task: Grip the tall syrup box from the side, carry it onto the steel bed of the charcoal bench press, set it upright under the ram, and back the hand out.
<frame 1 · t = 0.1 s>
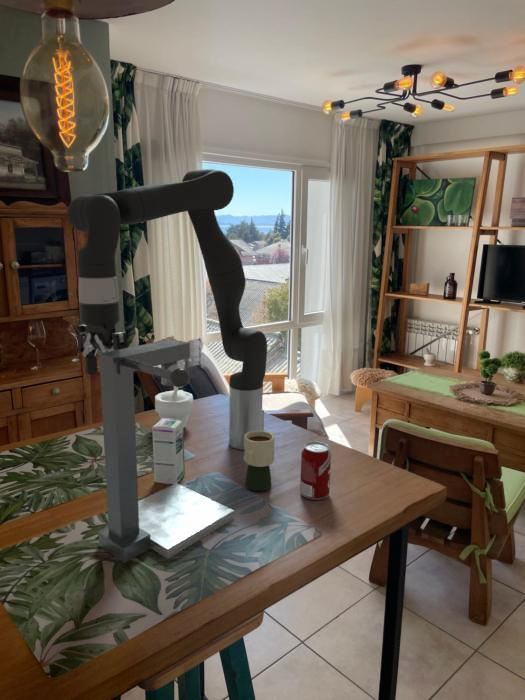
hand: (103, 377, 107), 29 cm above the table, tool pointing down, fingers open, 8 cm apart
mortar and pestle: (173, 427, 159), on the table
syrup box: (169, 479, 126), on the table
bench press: (172, 521, 108), on the table
soda can: (314, 495, 120), on the table
character mug: (258, 488, 123), on the table
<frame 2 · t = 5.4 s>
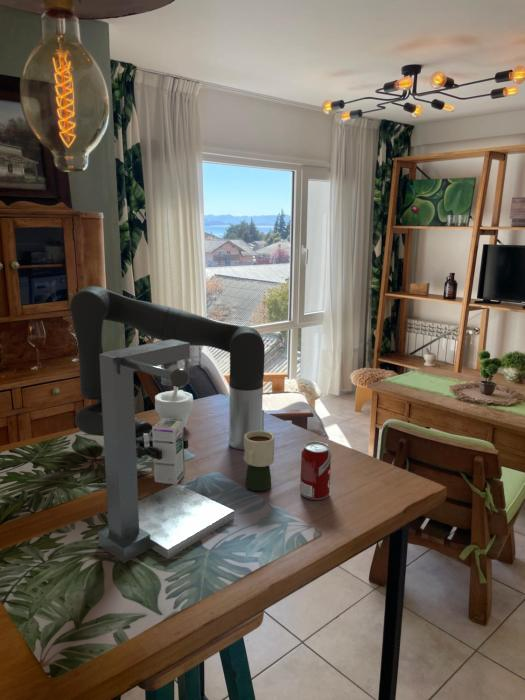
hand: (174, 450, 123), 8 cm above the table, tool horizontal, fingers closed on syrup box, 7 cm apart
syrup box: (169, 479, 126), on the table, touching gripper
everything else where it was.
when the fingers open (11 cm above the table, at t = 11.0 s): syrup box drops 1 cm, resting on bench press.
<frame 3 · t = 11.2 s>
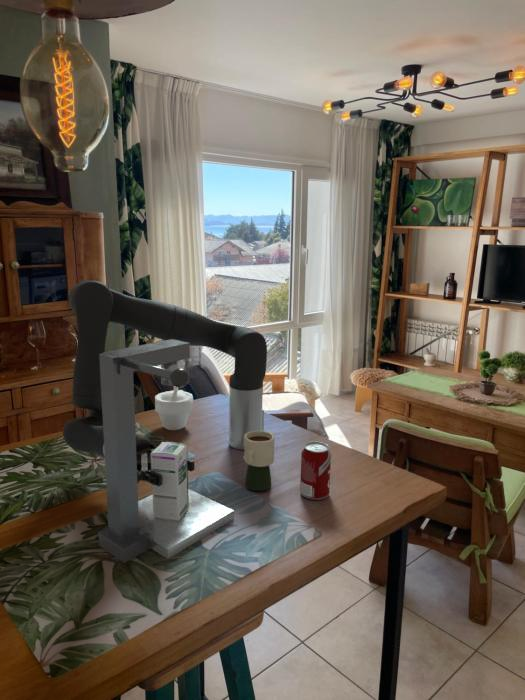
hand: (177, 473, 104), 11 cm above the table, tool horizontal, fingers open, 8 cm apart
syrup box: (171, 513, 108), point 2 cm above the table, touching bench press, gripper
everything else where it was.
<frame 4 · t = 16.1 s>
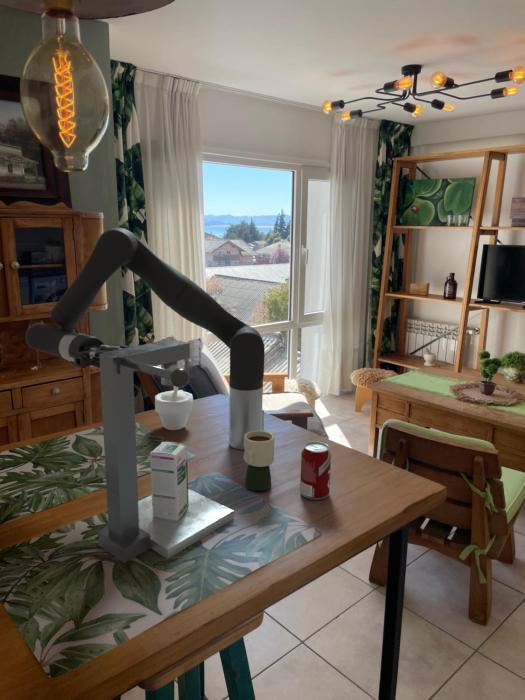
hand: (121, 360, 117), 30 cm above the table, tool horizontal, fingers open, 8 cm apart
syrup box: (170, 513, 108), point 2 cm above the table, touching bench press
everything else where it was.
at the end: syrup box inside the target area on the bench press (0.4 cm from its centre), point 1.8 cm above the bench press's base; syrup box tilted 0°; the gripper is holding nothing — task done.
